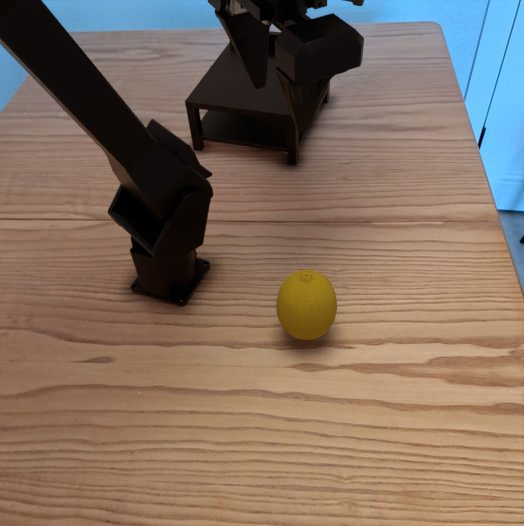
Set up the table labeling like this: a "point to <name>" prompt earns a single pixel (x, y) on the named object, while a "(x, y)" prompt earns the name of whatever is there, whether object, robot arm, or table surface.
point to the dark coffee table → (244, 107)
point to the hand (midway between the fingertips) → (280, 108)
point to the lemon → (306, 304)
